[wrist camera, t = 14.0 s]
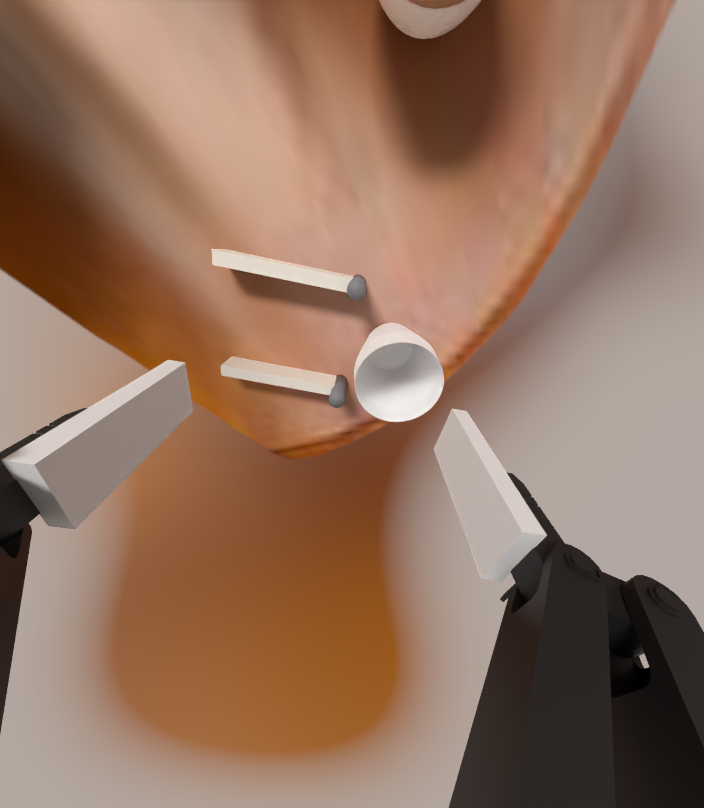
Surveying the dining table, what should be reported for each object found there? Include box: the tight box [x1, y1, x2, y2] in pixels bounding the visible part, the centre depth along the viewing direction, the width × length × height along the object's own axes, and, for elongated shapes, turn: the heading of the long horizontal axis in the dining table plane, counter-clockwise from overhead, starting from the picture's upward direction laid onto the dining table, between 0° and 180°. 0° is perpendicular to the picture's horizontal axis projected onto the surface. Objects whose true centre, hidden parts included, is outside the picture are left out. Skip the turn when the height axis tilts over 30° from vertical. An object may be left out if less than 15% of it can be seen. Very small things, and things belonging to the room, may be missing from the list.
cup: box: [354, 323, 444, 422], centre depth 31 cm, size 9×9×12 cm
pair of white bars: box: [211, 249, 366, 408], centre depth 32 cm, size 17×16×6 cm
